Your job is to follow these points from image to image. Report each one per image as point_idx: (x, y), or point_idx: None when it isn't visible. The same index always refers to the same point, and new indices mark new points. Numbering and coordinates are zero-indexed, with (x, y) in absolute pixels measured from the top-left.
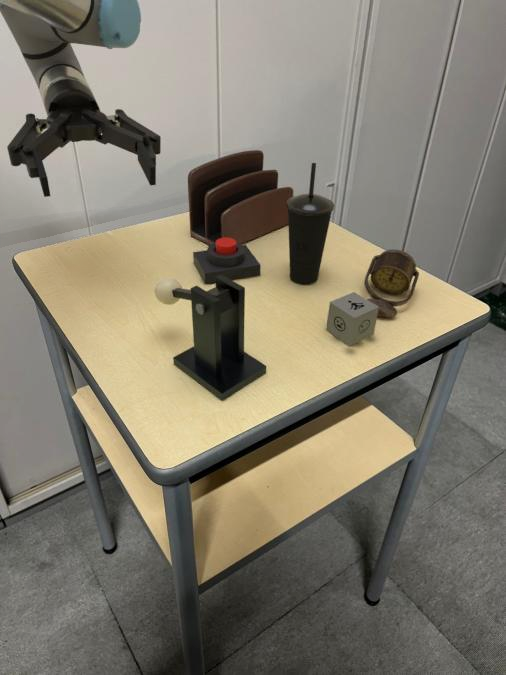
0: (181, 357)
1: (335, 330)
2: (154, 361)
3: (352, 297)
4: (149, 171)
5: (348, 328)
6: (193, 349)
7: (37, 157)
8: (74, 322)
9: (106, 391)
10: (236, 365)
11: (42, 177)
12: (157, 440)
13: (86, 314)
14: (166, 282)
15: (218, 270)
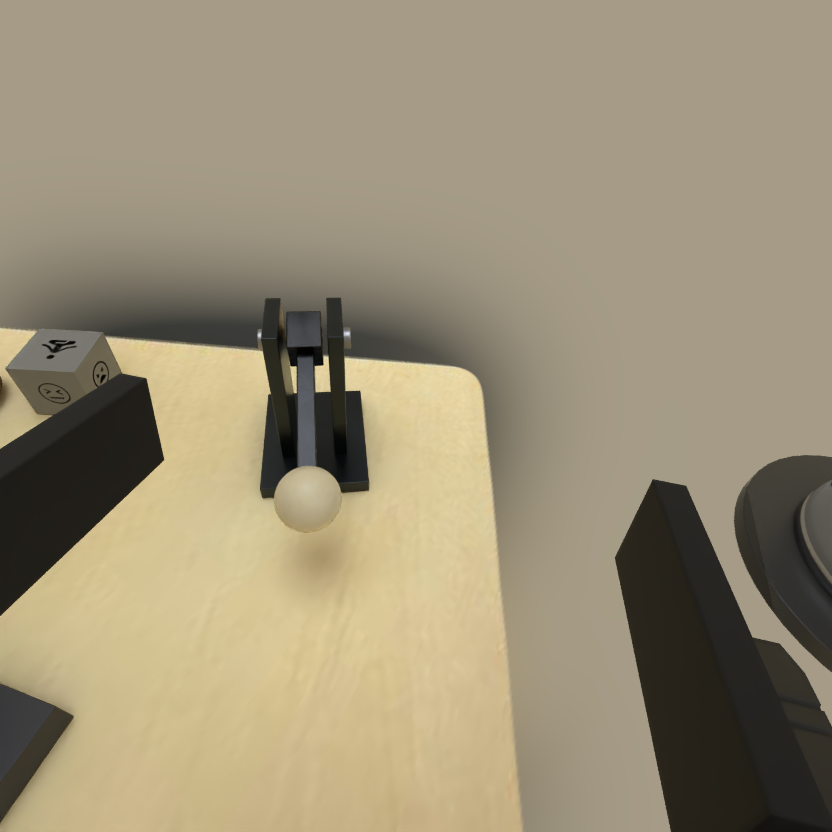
0: (357, 473)
1: None
2: (391, 514)
3: (31, 360)
4: (144, 409)
5: (109, 358)
6: None
7: (750, 673)
8: (483, 761)
9: (491, 498)
10: None
11: (677, 485)
12: (464, 398)
13: (441, 784)
14: (314, 474)
15: (11, 694)
